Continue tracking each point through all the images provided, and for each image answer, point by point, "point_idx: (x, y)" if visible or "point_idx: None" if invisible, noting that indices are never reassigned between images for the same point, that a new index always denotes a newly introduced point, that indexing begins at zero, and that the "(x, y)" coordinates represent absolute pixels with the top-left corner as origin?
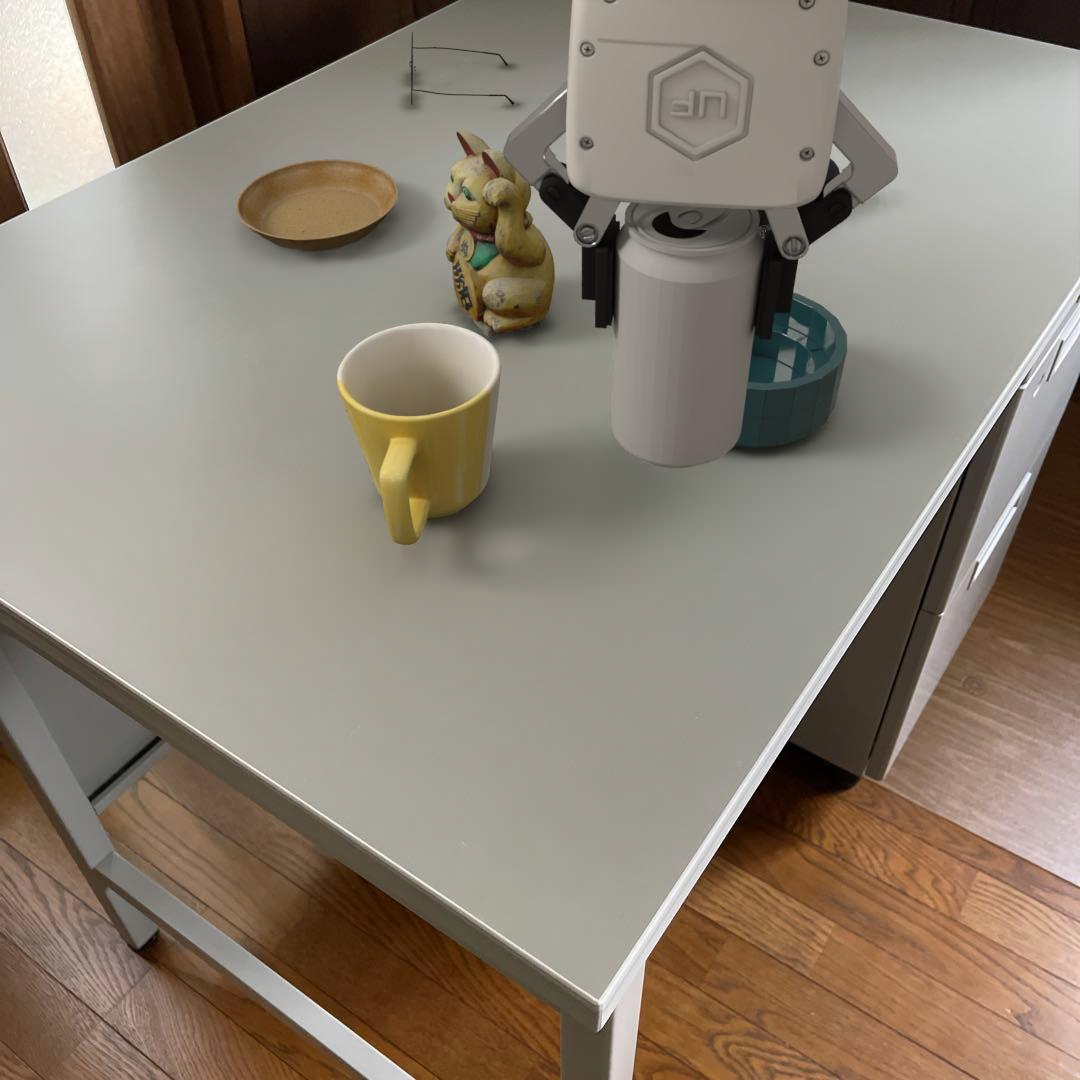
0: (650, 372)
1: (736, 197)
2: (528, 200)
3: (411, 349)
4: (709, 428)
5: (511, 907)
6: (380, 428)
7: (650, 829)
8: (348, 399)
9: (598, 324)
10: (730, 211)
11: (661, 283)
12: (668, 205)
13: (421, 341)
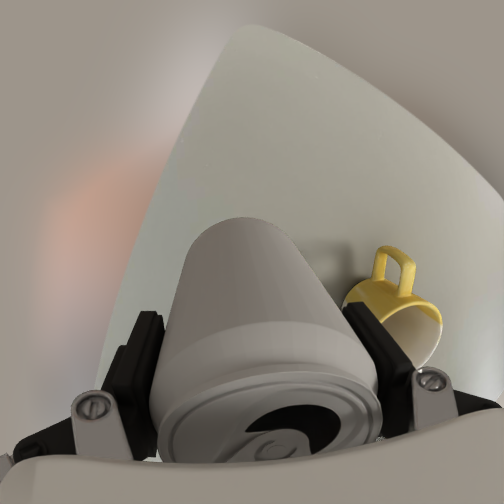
0: (285, 255)
1: (179, 487)
2: None
3: None
4: (209, 238)
5: (287, 48)
6: (419, 298)
7: (225, 93)
8: (438, 311)
9: (359, 302)
10: None
11: (312, 318)
12: None
13: None
